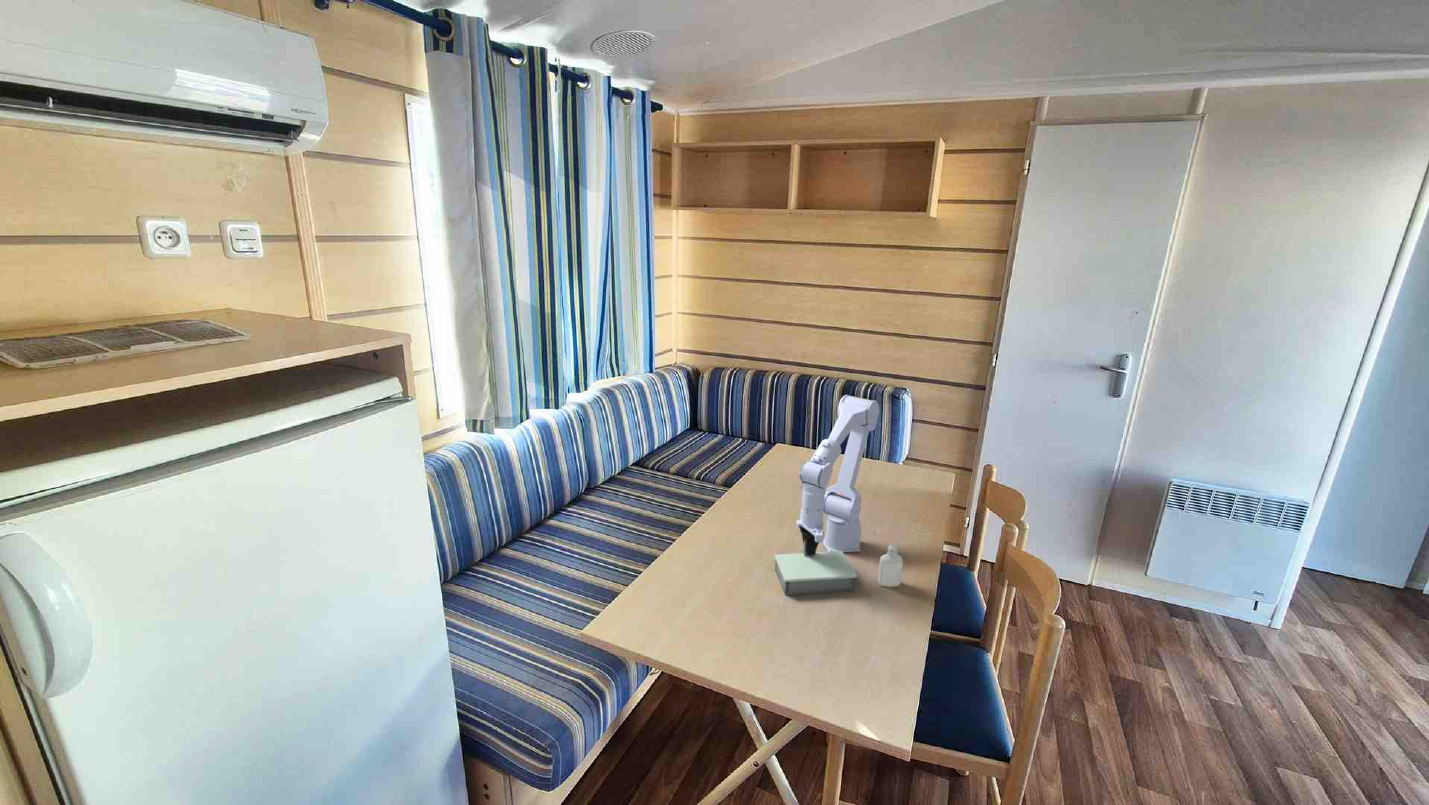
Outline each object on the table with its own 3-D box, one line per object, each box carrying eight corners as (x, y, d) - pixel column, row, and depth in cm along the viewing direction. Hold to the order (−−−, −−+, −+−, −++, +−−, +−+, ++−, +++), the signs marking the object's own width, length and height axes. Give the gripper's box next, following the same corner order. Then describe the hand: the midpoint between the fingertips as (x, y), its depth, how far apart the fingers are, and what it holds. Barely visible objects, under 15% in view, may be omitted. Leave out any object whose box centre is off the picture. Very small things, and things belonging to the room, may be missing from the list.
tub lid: (841, 554, 156) (842, 537, 154) (856, 579, 145) (858, 561, 143) (774, 558, 153) (775, 541, 152) (784, 584, 142) (785, 565, 141)
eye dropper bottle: (898, 591, 146) (903, 549, 143) (875, 585, 148) (880, 544, 145) (901, 582, 150) (906, 541, 146) (879, 576, 152) (883, 536, 149)
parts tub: (839, 566, 156) (840, 553, 155) (854, 590, 146) (855, 577, 145) (775, 570, 154) (775, 557, 153) (785, 595, 144) (785, 581, 142)
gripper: (790, 494, 156) (788, 539, 159) (805, 520, 142) (802, 568, 146) (815, 493, 156) (812, 537, 160) (833, 519, 143) (829, 566, 147)
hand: (809, 552), depth 153 cm, fingers closed on tub lid
